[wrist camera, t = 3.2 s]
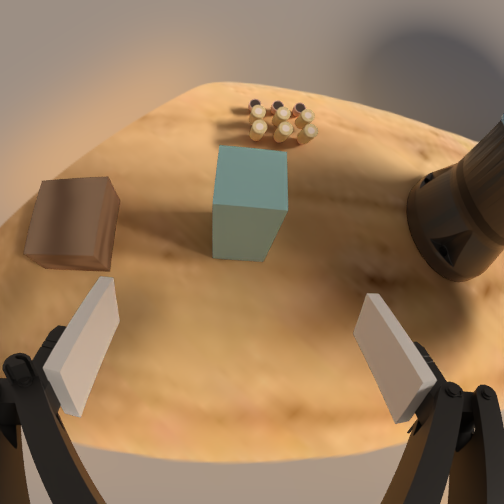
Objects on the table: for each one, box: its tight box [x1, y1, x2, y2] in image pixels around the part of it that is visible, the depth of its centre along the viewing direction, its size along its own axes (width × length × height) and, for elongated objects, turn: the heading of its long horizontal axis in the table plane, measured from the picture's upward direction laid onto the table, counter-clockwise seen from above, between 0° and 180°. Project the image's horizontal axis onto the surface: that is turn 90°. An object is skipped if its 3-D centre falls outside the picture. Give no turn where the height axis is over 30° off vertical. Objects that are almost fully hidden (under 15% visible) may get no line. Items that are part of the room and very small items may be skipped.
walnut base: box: [24, 177, 120, 271], centre depth 27 cm, size 8×8×5 cm
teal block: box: [212, 145, 288, 262], centre depth 26 cm, size 5×5×11 cm
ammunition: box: [248, 99, 318, 144], centre depth 35 cm, size 5×7×8 cm
